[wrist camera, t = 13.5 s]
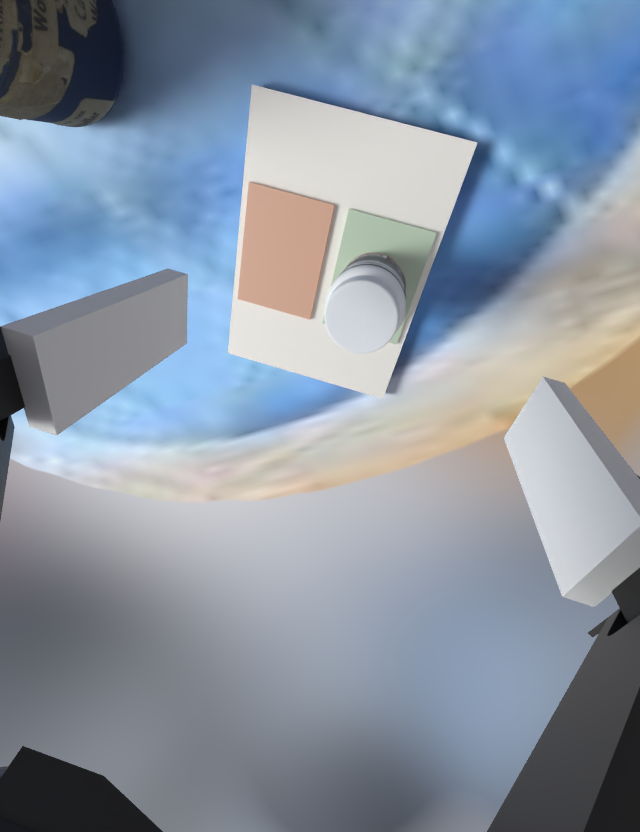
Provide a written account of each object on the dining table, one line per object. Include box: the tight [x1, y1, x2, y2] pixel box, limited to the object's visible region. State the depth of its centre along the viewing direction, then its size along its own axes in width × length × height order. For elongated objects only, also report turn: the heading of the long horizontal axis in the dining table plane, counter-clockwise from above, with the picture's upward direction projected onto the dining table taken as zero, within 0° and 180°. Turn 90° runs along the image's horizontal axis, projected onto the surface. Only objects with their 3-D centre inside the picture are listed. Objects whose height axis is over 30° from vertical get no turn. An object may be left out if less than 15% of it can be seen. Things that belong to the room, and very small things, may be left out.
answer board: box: [228, 85, 477, 399], centre depth 27 cm, size 18×14×1 cm
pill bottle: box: [324, 253, 406, 354], centre depth 23 cm, size 5×5×8 cm
